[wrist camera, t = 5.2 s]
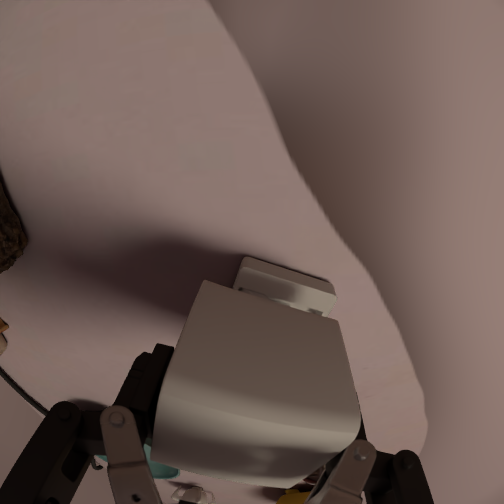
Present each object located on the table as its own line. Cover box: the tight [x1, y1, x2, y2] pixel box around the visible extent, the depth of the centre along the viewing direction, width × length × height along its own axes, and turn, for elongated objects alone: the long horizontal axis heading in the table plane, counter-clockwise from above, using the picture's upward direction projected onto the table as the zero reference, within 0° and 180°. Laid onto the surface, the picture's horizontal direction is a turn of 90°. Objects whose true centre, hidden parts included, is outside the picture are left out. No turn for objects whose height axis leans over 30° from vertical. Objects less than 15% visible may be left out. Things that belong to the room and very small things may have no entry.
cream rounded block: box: [150, 257, 361, 489], centre depth 13 cm, size 6×7×10 cm
